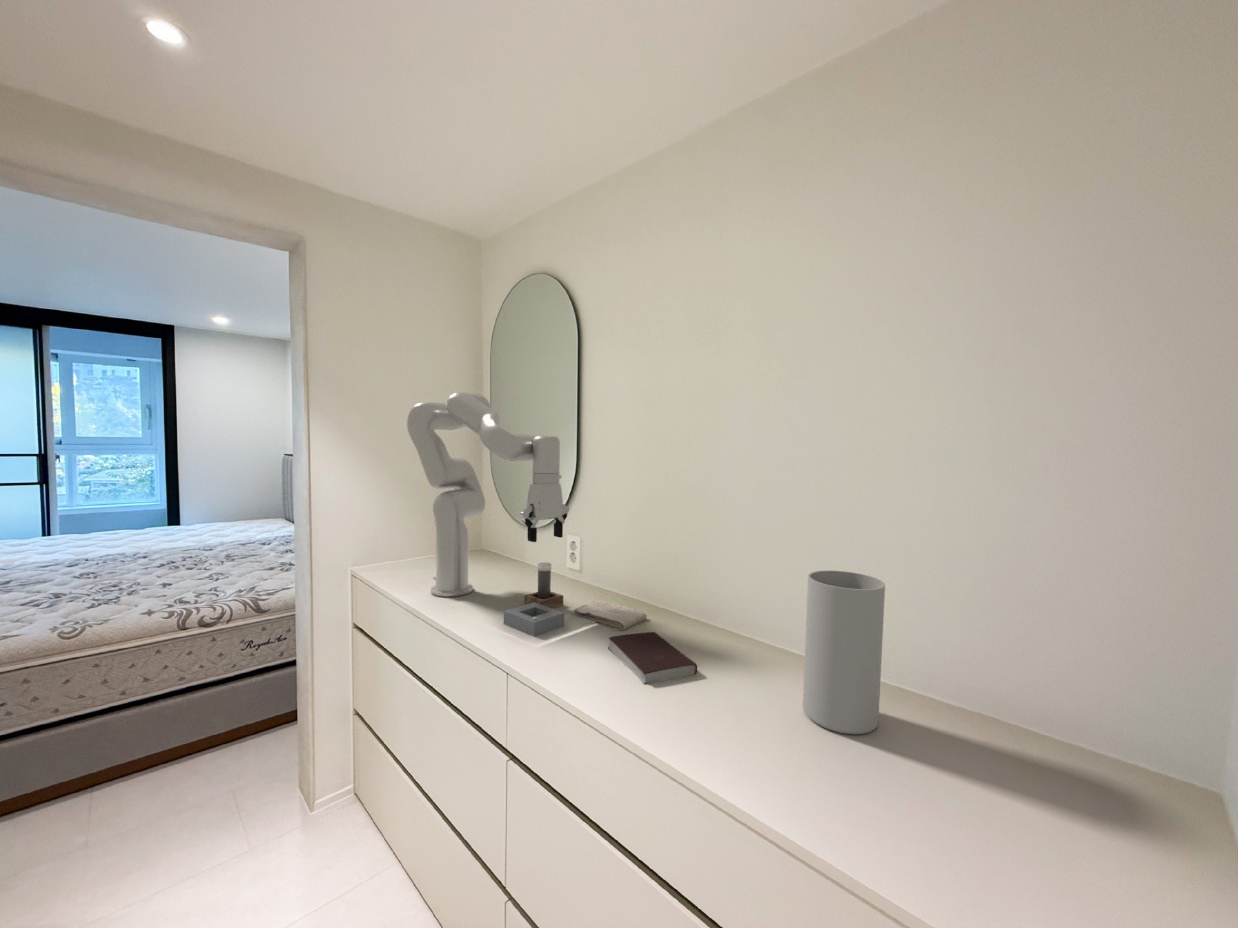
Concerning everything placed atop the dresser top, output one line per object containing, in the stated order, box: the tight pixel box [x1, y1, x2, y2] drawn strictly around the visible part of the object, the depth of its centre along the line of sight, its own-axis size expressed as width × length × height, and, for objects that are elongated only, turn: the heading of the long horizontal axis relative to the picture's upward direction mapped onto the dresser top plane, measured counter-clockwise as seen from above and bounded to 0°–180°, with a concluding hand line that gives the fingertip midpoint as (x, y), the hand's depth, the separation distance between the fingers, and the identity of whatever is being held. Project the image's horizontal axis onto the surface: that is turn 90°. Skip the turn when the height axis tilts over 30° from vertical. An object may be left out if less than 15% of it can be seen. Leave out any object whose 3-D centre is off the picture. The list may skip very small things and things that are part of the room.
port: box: [503, 602, 565, 637], centre depth 133 cm, size 12×10×4 cm
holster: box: [524, 590, 564, 609], centre depth 149 cm, size 8×8×4 cm
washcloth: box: [572, 599, 647, 631], centre depth 142 cm, size 12×18×3 cm, turn 55°
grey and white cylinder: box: [537, 561, 552, 599], centre depth 149 cm, size 4×4×12 cm
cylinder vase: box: [802, 570, 886, 735], centre depth 93 cm, size 12×12×25 cm
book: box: [607, 631, 698, 685], centre depth 115 cm, size 12×19×3 cm, turn 23°
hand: (545, 539), depth 148 cm, fingers open, 9 cm apart
